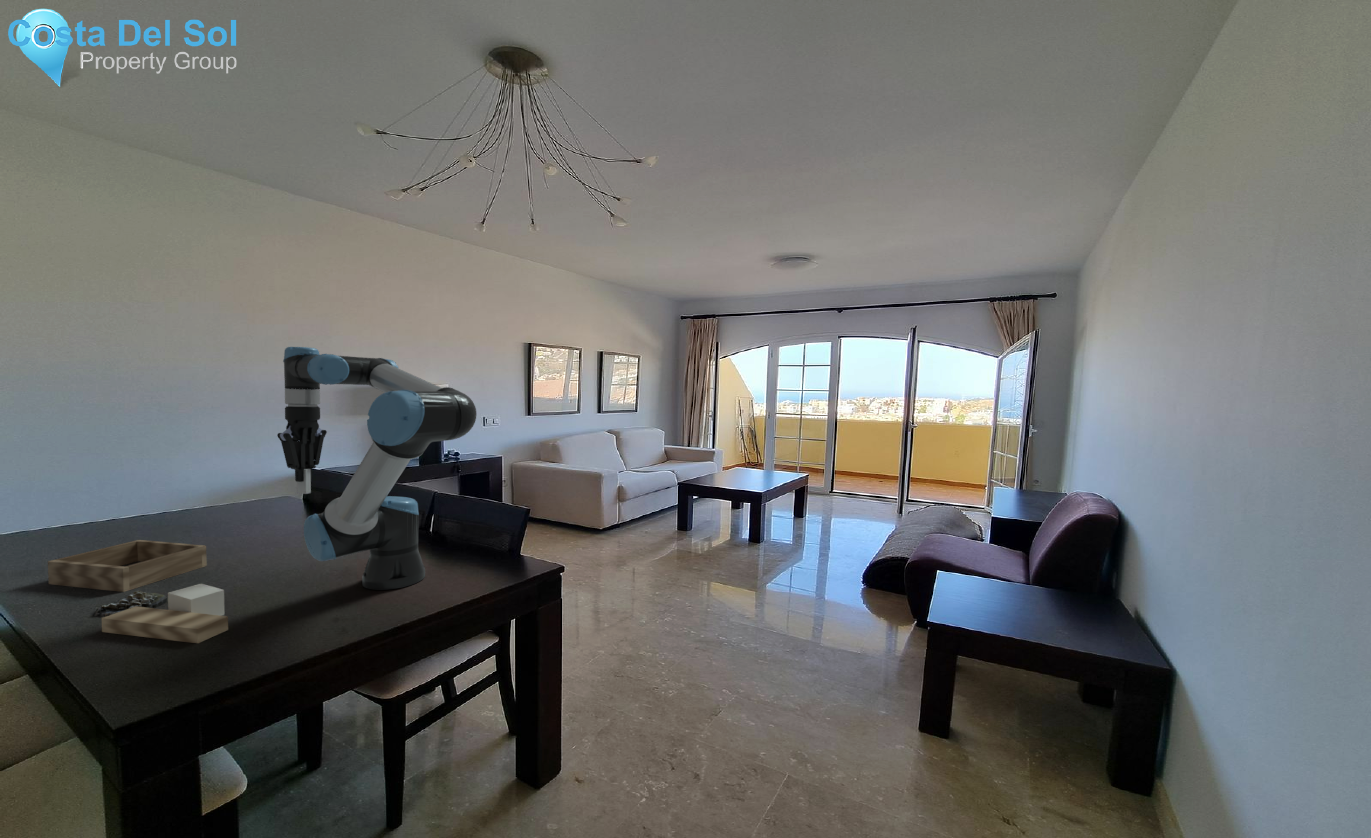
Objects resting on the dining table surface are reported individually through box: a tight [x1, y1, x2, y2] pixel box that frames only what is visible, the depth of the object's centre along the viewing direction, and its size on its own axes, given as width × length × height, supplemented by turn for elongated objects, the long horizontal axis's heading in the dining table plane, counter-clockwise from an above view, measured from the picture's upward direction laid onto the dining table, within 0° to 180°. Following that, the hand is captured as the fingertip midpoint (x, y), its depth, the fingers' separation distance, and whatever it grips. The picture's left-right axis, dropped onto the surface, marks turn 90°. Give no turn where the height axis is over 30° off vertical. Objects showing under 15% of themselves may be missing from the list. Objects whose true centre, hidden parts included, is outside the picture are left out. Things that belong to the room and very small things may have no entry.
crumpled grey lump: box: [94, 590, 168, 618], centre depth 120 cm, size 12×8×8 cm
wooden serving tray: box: [47, 539, 208, 593], centre depth 139 cm, size 23×19×6 cm
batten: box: [100, 606, 229, 644], centre depth 109 cm, size 24×6×3 cm, turn 82°
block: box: [167, 583, 226, 616], centre depth 116 cm, size 9×6×6 cm, turn 69°
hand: (303, 492), depth 136 cm, fingers closed
